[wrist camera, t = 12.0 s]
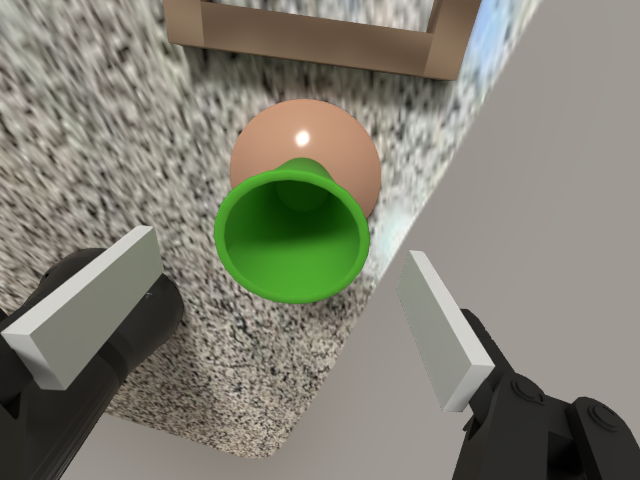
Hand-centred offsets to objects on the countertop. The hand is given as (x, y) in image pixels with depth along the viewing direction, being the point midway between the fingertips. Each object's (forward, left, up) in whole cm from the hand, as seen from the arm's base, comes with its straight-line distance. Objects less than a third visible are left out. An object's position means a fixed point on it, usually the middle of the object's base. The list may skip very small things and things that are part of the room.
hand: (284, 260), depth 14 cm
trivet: (0, 0, -14) cm, 14 cm away
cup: (0, 0, -13) cm, 13 cm away
